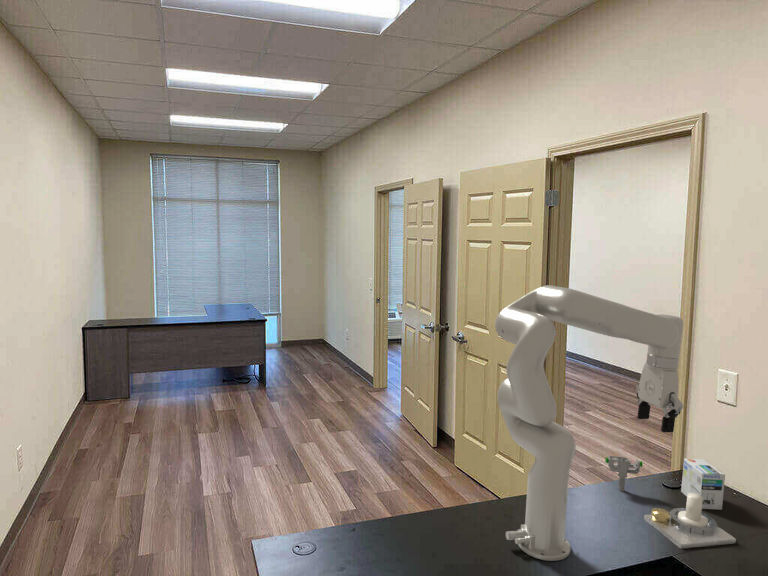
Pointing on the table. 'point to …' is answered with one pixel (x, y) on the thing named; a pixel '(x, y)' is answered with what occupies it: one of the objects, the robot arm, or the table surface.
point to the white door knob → (693, 511)
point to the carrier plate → (687, 529)
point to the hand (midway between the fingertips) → (654, 425)
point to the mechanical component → (623, 468)
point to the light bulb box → (703, 482)
